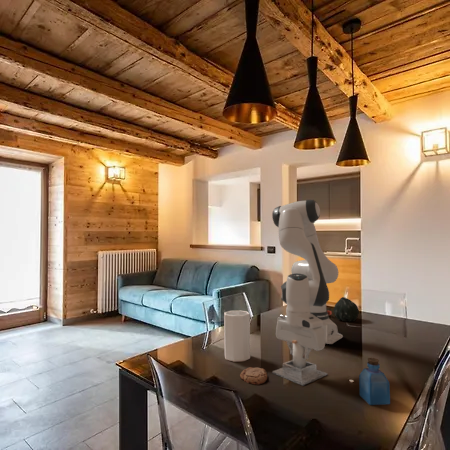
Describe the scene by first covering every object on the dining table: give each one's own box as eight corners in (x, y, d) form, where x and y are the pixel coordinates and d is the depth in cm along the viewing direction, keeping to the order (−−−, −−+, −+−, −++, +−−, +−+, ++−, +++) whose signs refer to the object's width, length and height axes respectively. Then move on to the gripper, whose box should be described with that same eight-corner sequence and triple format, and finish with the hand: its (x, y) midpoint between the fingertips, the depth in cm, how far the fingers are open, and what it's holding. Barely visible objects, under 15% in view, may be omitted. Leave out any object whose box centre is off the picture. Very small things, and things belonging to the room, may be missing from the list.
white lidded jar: (288, 366, 120) (288, 339, 120) (300, 362, 124) (299, 336, 124) (298, 370, 116) (298, 342, 117) (310, 366, 120) (309, 339, 121)
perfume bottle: (359, 395, 103) (358, 356, 104) (378, 394, 103) (377, 355, 104) (370, 405, 97) (368, 363, 97) (390, 404, 97) (388, 362, 98)
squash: (361, 309, 207) (344, 291, 209) (365, 315, 192) (347, 295, 194) (343, 323, 209) (327, 305, 211) (347, 330, 194) (329, 311, 197)
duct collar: (296, 364, 130) (296, 354, 130) (327, 374, 119) (327, 364, 119) (272, 373, 121) (272, 363, 121) (303, 385, 110) (302, 374, 110)
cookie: (249, 387, 110) (249, 378, 110) (235, 375, 120) (235, 367, 120) (274, 382, 114) (274, 373, 114) (259, 371, 124) (259, 363, 124)
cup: (232, 364, 130) (231, 316, 131) (219, 355, 140) (219, 311, 141) (255, 359, 136) (255, 313, 137) (241, 351, 145) (241, 309, 146)
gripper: (271, 314, 127) (272, 351, 126) (316, 325, 111) (317, 366, 110) (282, 312, 131) (283, 347, 130) (327, 322, 115) (328, 362, 114)
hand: (299, 356), depth 120 cm, fingers closed on white lidded jar, 4 cm apart
